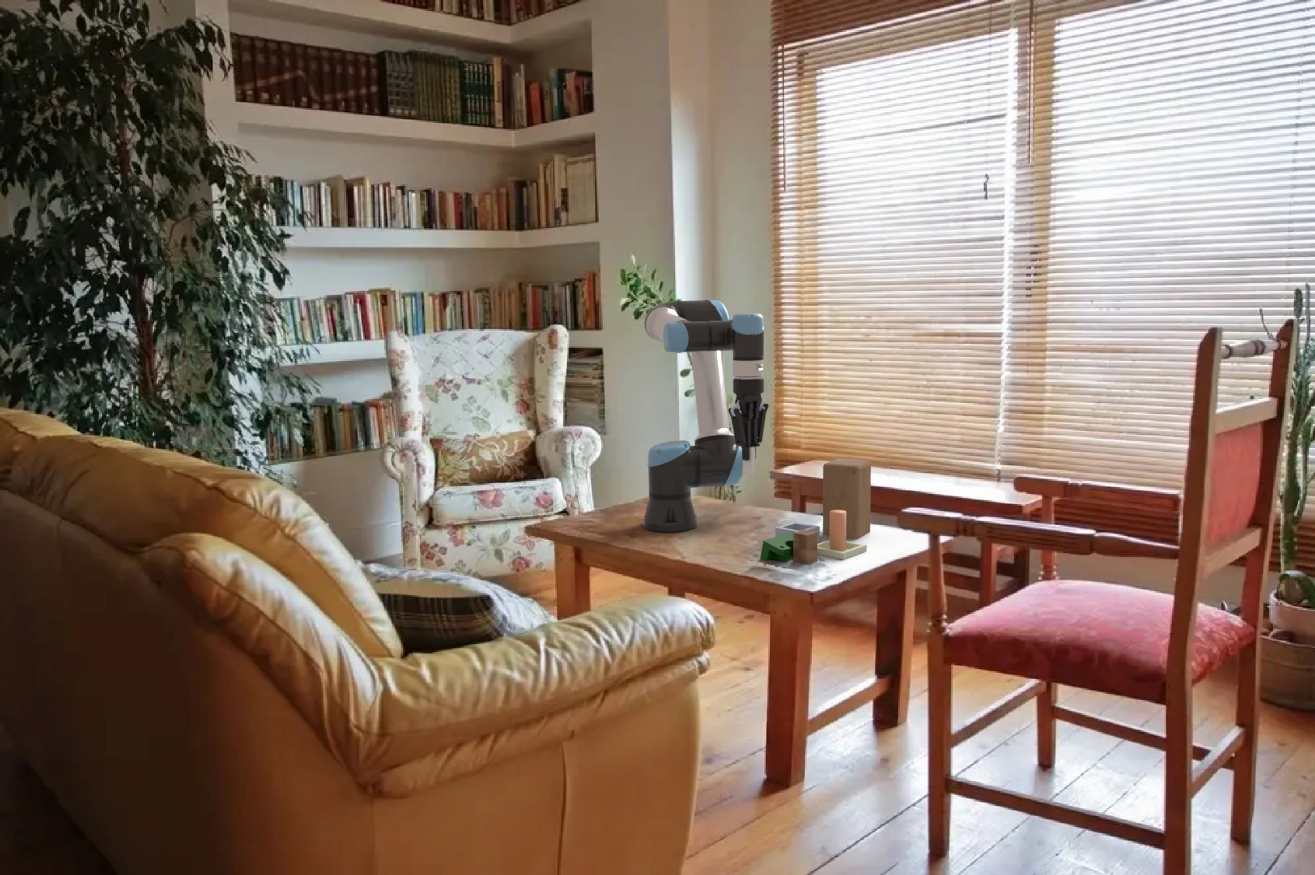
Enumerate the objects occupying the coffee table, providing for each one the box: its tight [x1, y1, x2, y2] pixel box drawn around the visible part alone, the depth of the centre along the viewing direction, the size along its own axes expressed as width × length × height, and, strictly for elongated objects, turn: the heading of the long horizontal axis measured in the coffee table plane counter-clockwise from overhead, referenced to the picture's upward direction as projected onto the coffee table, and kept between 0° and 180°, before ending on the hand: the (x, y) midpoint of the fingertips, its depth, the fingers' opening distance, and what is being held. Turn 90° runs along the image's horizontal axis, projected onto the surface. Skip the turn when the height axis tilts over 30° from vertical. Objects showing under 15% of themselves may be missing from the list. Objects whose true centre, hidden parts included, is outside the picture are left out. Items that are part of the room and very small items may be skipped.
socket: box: [774, 521, 821, 544], centre depth 262 cm, size 8×8×5 cm
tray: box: [817, 539, 868, 560], centre depth 253 cm, size 10×10×2 cm
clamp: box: [759, 532, 794, 565], centre depth 249 cm, size 12×6×9 cm, turn 127°
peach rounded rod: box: [829, 510, 847, 552], centre depth 252 cm, size 4×4×10 cm
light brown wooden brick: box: [792, 530, 818, 565], centre depth 245 cm, size 4×4×8 cm
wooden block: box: [822, 457, 872, 540], centre depth 270 cm, size 10×10×20 cm
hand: (749, 472), depth 254 cm, fingers closed
